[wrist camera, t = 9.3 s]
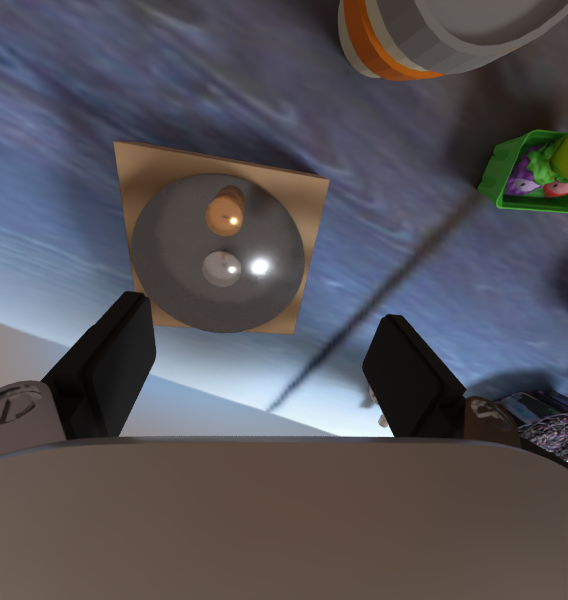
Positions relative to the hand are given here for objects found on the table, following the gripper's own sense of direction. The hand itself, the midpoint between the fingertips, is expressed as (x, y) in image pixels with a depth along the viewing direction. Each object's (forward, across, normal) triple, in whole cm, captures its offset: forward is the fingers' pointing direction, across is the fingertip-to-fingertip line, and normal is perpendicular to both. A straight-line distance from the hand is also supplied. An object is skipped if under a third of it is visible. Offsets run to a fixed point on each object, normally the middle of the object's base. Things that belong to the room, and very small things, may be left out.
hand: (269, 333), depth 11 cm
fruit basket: (+25, -31, -10) cm, 41 cm away
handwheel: (+19, +4, +5) cm, 20 cm away
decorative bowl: (+27, -65, +40) cm, 81 cm away
